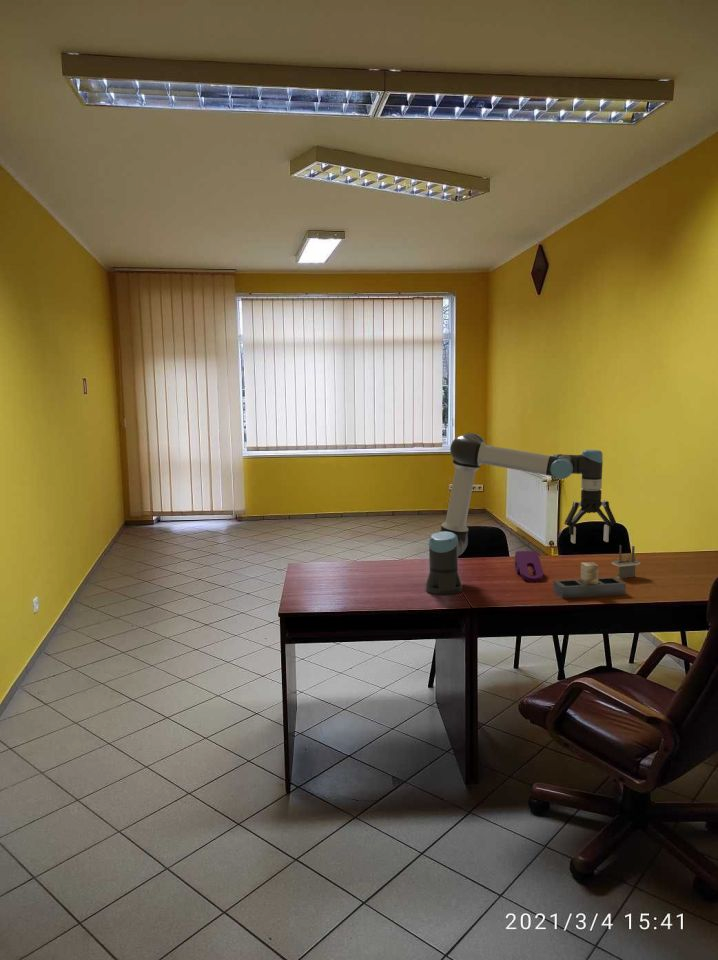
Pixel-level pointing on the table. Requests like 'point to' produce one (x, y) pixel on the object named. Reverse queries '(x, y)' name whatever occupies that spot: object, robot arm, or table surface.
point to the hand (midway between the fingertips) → (589, 542)
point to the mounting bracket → (526, 560)
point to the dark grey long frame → (589, 588)
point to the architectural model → (626, 565)
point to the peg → (589, 573)
